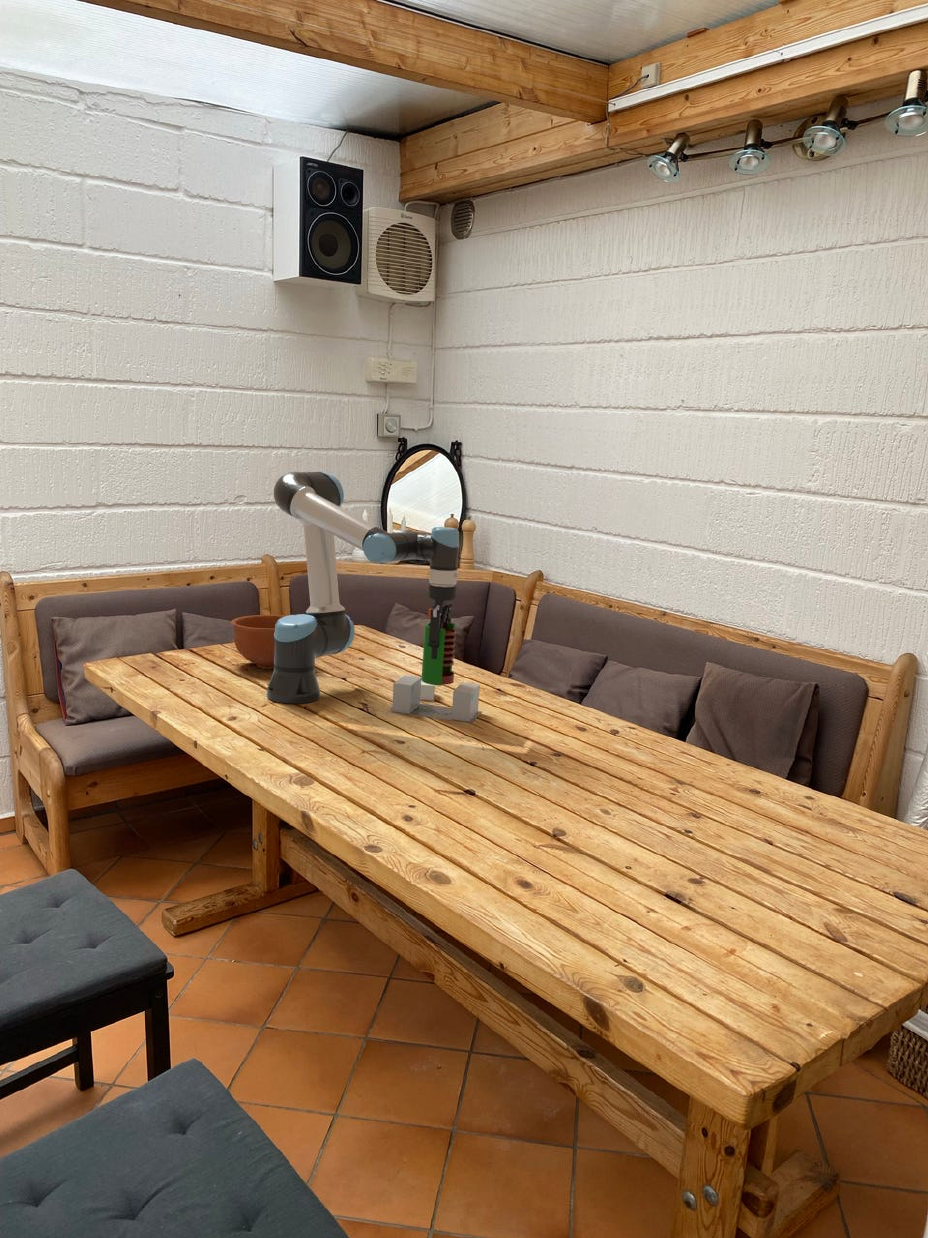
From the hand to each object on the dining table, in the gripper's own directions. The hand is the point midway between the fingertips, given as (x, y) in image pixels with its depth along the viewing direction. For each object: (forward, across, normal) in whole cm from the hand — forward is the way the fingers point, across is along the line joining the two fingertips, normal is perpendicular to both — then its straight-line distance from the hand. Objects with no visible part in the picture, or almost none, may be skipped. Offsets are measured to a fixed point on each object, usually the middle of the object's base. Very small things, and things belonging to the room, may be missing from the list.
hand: (438, 667), depth 263 cm
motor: (+4, 0, 0) cm, 4 cm away
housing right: (+13, 0, -8) cm, 15 cm away
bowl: (+14, +32, +66) cm, 74 cm away
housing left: (+13, 0, +9) cm, 15 cm away
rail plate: (+14, 0, 0) cm, 14 cm away
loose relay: (+14, +14, +7) cm, 21 cm away
